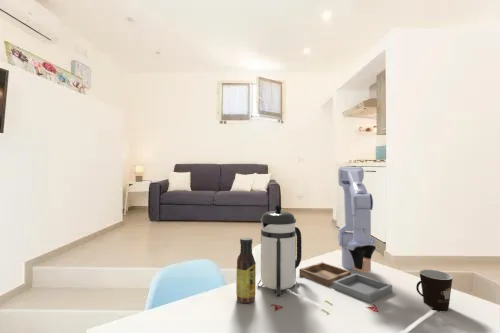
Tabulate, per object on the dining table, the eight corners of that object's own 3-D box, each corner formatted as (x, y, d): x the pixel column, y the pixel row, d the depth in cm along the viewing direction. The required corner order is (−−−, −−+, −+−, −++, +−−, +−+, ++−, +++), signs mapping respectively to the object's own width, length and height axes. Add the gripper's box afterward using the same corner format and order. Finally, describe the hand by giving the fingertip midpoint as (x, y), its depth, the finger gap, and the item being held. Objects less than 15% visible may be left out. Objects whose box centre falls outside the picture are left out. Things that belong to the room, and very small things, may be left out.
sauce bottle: (253, 305, 88) (253, 241, 88) (234, 303, 89) (234, 240, 89) (257, 296, 94) (257, 237, 94) (239, 294, 95) (239, 236, 96)
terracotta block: (360, 267, 100) (360, 255, 100) (370, 270, 97) (370, 258, 97) (353, 269, 98) (353, 258, 98) (364, 272, 95) (364, 261, 95)
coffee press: (302, 299, 92) (302, 207, 93) (254, 295, 95) (255, 206, 95) (301, 278, 109) (301, 202, 110) (260, 276, 112) (261, 201, 112)
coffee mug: (442, 300, 91) (442, 270, 91) (459, 314, 83) (459, 280, 83) (405, 299, 92) (404, 268, 92) (418, 312, 84) (417, 278, 84)
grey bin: (355, 281, 107) (355, 273, 107) (392, 294, 96) (392, 285, 96) (332, 290, 99) (332, 281, 99) (370, 305, 88) (370, 296, 88)
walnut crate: (322, 269, 120) (322, 262, 120) (351, 279, 109) (350, 271, 109) (299, 276, 112) (299, 269, 112) (328, 288, 101) (328, 280, 101)
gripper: (360, 233, 90) (360, 275, 90) (383, 227, 99) (383, 266, 99) (341, 229, 96) (341, 268, 96) (365, 224, 105) (365, 260, 104)
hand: (362, 267), depth 98 cm, fingers closed on terracotta block, 4 cm apart
